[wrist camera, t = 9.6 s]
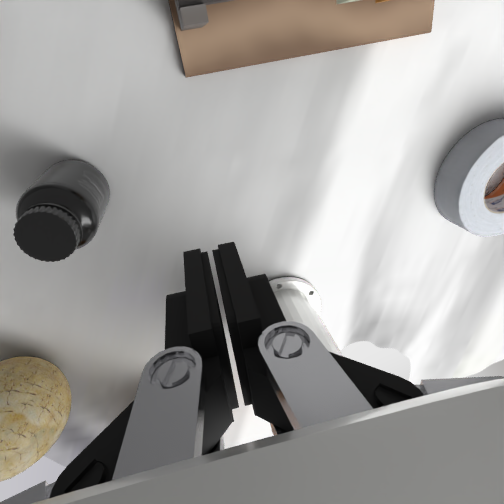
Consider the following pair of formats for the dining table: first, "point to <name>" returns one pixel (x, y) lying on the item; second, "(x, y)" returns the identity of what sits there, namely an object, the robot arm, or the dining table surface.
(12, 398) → the fossilized egg
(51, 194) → the supplement bottle
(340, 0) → the mint green stepped block
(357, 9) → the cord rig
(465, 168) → the tape roll
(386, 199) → the dining table surface
